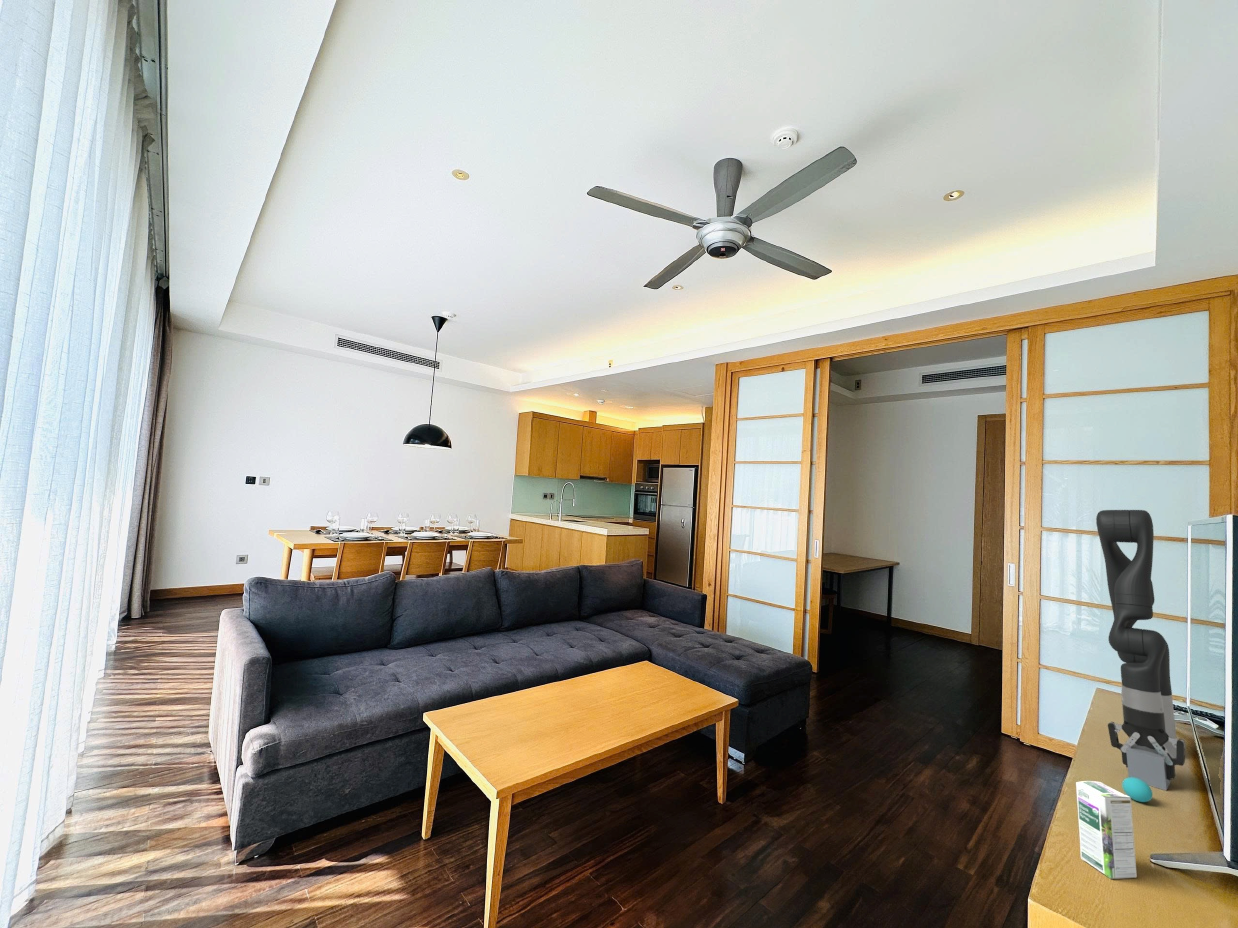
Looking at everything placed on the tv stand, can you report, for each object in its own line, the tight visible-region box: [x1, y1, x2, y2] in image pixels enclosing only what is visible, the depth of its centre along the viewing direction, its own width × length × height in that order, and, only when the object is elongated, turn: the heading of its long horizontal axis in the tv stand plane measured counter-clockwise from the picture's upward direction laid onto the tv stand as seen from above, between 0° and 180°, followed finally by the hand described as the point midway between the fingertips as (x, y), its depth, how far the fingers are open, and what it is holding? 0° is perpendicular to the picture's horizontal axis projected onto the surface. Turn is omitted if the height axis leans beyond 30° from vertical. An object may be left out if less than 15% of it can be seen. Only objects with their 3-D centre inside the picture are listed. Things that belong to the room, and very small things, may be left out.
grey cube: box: [1126, 744, 1171, 791], centre depth 127 cm, size 7×7×7 cm
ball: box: [1121, 776, 1153, 803], centre depth 118 cm, size 5×5×5 cm
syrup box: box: [1075, 780, 1138, 880], centre depth 95 cm, size 6×6×14 cm
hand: (1148, 772), depth 127 cm, fingers closed on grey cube, 6 cm apart
